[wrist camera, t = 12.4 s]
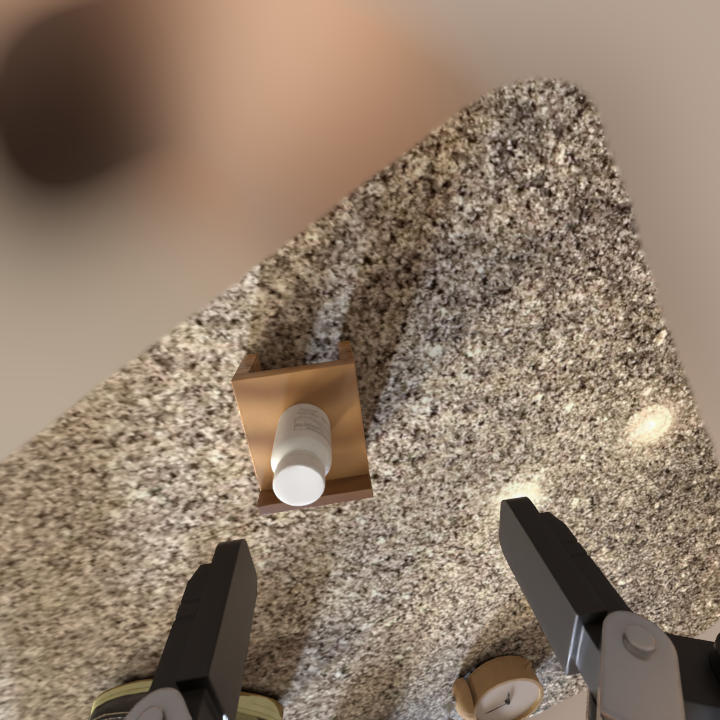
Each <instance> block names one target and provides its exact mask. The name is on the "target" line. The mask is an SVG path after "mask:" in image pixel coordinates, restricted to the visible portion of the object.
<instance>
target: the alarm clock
mask: <svg viewBox="0 0 720 720" xmlns="http://www.w3.org/2000/svg"><path fill="white" fill-rule="evenodd" d="M452 695H453V696H452V697H451V701H450V702H449V703H448V704H447V706H446V708H445V715H446V719H447V720H453V719H451V718H450V717H449V715H450V713H451V711H452V710H453V709H454V707H456V710H457V712H458V713H459V715H460V716H461V717H462V718H463V719H464V720H524V719H526V718H528V717H529V716H530V715H531V714H532V713H533V712H534V711H536V709H537V708H538V707H539V705H540V704H541V702H542V699H543V696H544V691H543V687H542V685H541V684H540V682H539V680H538V678H537V676H536V675H535V673H534V671H533V669H532V662H531V661H530V662H528V661H527V660H526V659H524V658H522V657H520V656H512V655H508V656H502V657H497V658H495V659H492V660H489V661H487V662H486V663H484V664H482V665H481V666H479V667H478V668H476V669H475V670H474V671H473V672H472V673H471V674H470V675H469V677H468V678H467V680H466V681H465V679H464V678H463V677H461V678H458V679H457V680H456V681H455V682H454V685H453V689H452Z"/></svg>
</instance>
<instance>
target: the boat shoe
mask: <svg viewBox="0 0 720 720" xmlns="http://www.w3.org/2000/svg"><path fill="white" fill-rule="evenodd" d="M153 679H154V678H152V679H144V680H138V681H133V682H129V683H125V684H122V685H119V686H116V687H114V688H111V689H109V690H107V691H105V692H103V693H102V694H100V695H99V696H98V697H97V698H96V700H95V702H94V704H93V707H92V710H91V715H90V717H89V720H124V719H125V717H126V715H127V714H128V713H129V712H130V710H131V709H132V708H133V707H134V706H135V705H136V703H138V702H139V701H140V700H141V699H142V698H143V697H145V696H146V694H147V693H148V691H149V689H150V686H151V684H152V681H153ZM282 718H283V707H282V705H281V704H280V703H279V702H277V701H276V700H274V699H272V698H269V697H266V696H262V695H258V694H253V693H248V692H242V691H240V697H239V703H238V709H237V715H236V720H282Z"/></svg>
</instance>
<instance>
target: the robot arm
mask: <svg viewBox="0 0 720 720" xmlns="http://www.w3.org/2000/svg"><path fill="white" fill-rule="evenodd" d="M499 540H500V545H501V548H502V551H503V554H504V556H505V558H506V560H507V562H508V564H509V566H510V568H511V570H512V572H513V574H514V576H515V578H516V580H517V582H518V584H519V585H520V587H521V589H522V591H523V593H524V595H525V597H526V599H527V601H528V603H529V605H530V607H531V609H532V610H533V612H534V614H535V616H536V618H537V620H538V622H539V624H540V626H541V628H542V630H543V632H544V634H545V636H546V637H547V639H548V641H549V643H550V645H551V647H552V649H553V651H554V653H555V655H556V657H557V659H558V661H559V663H560V664H561V666H562V668H563V670H564V672H565V674H566V675H572V674H578V673H581V675H582V677H583V678H584V680H585V682H586V684H587V686H588V691H587V705H586V720H720V633H719V634H718V635H717V638H716V640H715V642H711V641H706V640H700V639H694V638H688V637H682V636H677V635H673V634H669V633H666V632H663V631H662V629H660V628H659V627H658V626H657V625H656V624H654V623H653V622H652V621H650V620H648V619H647V618H645V617H643V616H641V615H639V614H636V613H634V612H633V611H632V610H631V609H630V608H629V607H628V606H627V605H626V603H625V602H624V601H623V599H622V598H621V597H620V595H619V594H618V593H617V591H616V590H615V589H614V588H613V586H612V585H611V584H610V582H609V581H608V580H607V578H606V577H605V576H604V574H603V573H602V572H601V570H600V569H599V568H598V567H597V565H596V564H595V563H594V561H593V560H592V559H591V557H590V556H588V555H587V552H586V551H585V549H584V548H583V547H582V546H581V544H580V543H578V542H577V539H576V538H575V536H574V535H573V534H572V532H571V531H570V530H569V528H568V527H567V526H566V525H565V524H564V523H563V522H562V521H560V520H559V519H558V518H556V517H555V516H554V515H552V514H551V513H549V512H544V513H539V512H538V510H537V509H536V507H535V506H534V504H533V503H532V502H531V500H530V499H529V498H527V497H520V498H514V499H507V500H502V502H501V509H500V527H499ZM256 596H257V575H256V571H255V568H254V564H253V561H252V558H251V554H250V551H249V548H248V545H247V542H246V540H245V539H240V540H233V541H227V542H220V543H219V544H218V545H217V547H216V550H215V553H214V557H213V560H212V563H210V564H203V565H200V567H199V568H198V569H197V571H196V572H195V573H194V575H193V576H192V577H191V579H190V580H189V581H188V583H187V586H186V589H185V592H184V595H183V597H182V600H181V605H180V606H179V609H178V611H177V614H176V617H175V618H176V620H175V621H174V623H173V625H172V628H171V631H170V634H169V637H168V639H167V642H166V645H165V648H164V651H163V653H162V656H161V659H160V662H159V665H158V667H157V670H156V673H155V676H154V679H153V681H152V684H151V686H150V689H149V691H148V693H147V694H146V696H145V697H143V698H142V699H141V700H140V701H139V702H138V703H136V705H135V706H134V707H133V708H132V709H131V710H130V712H129V713H128V714H127V715H126V717H125V719H124V720H236V715H237V709H238V703H239V697H240V691H241V685H242V679H243V673H244V668H245V662H246V656H247V650H248V644H249V638H250V632H251V626H252V620H253V614H254V608H255V602H256Z"/></svg>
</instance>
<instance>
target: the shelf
mask: <svg viewBox="0 0 720 720" xmlns="http://www.w3.org/2000/svg"><path fill="white" fill-rule="evenodd" d="M338 350H339V358H340V360H337V361H330V362H323V363H316V364H309V365H302V366H295V367H288V368H281V369H274V370H267V371H262V370H261V366H260V361H259V357H258V354H257V353H256V354H249V355H245V356H244V358H243V360H242V362H241V364H240V365H239V367H238V369H237V371H236V373H235V374H234V376H233V378H232V380H231V383H232V387H233V390H234V394H235V398H236V402H237V405H238V409H239V413H240V417H241V420H242V424H243V428H244V431H245V435H246V439H247V443H248V446H249V450H250V454H251V458H252V461H253V465H254V469H255V472H256V476H257V480H258V484H259V487H260V494H259V499H258V503H257V510H258V513H259V515H265V514H271V513H278V512H284V511H290V510H296V509H302V508H309V507H315V506H321V505H327V504H334V503H340V502H346V501H352V500H359V499H365V498H371V497H373V491H372V485H371V479H370V474H369V466H368V459H367V451H366V443H365V436H364V428H363V420H362V413H361V405H360V397H359V390H358V382H357V374H356V367H355V361H354V356H353V352H352V348H351V343H350V341H342V342H338ZM301 403H304V404H312V405H315V406H317V407H319V408H320V409H322V410H323V411H324V412H325V413H326V415H327V416H328V419H329V422H330V430H331V450H332V462H331V467H330V470H329V472H328V474H327V475H326V476H325V488H324V492H323V493H322V495H321V496H320V497H319V498H318V499H317V500H316V501H314V502H313V503H311V504H308V505H303V506H293V505H289V504H286V503H284V502H282V501H281V500H280V499H279V498H278V497H277V496H276V494H275V492H274V490H273V479H274V472H273V470H272V466H271V455H272V450H273V445H274V440H275V435H276V430H277V426H278V421H279V418H280V416H281V415H282V413H283V412H284V411H285V410H287V409H288V408H289V407H291V406H294V405H296V404H301Z"/></svg>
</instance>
